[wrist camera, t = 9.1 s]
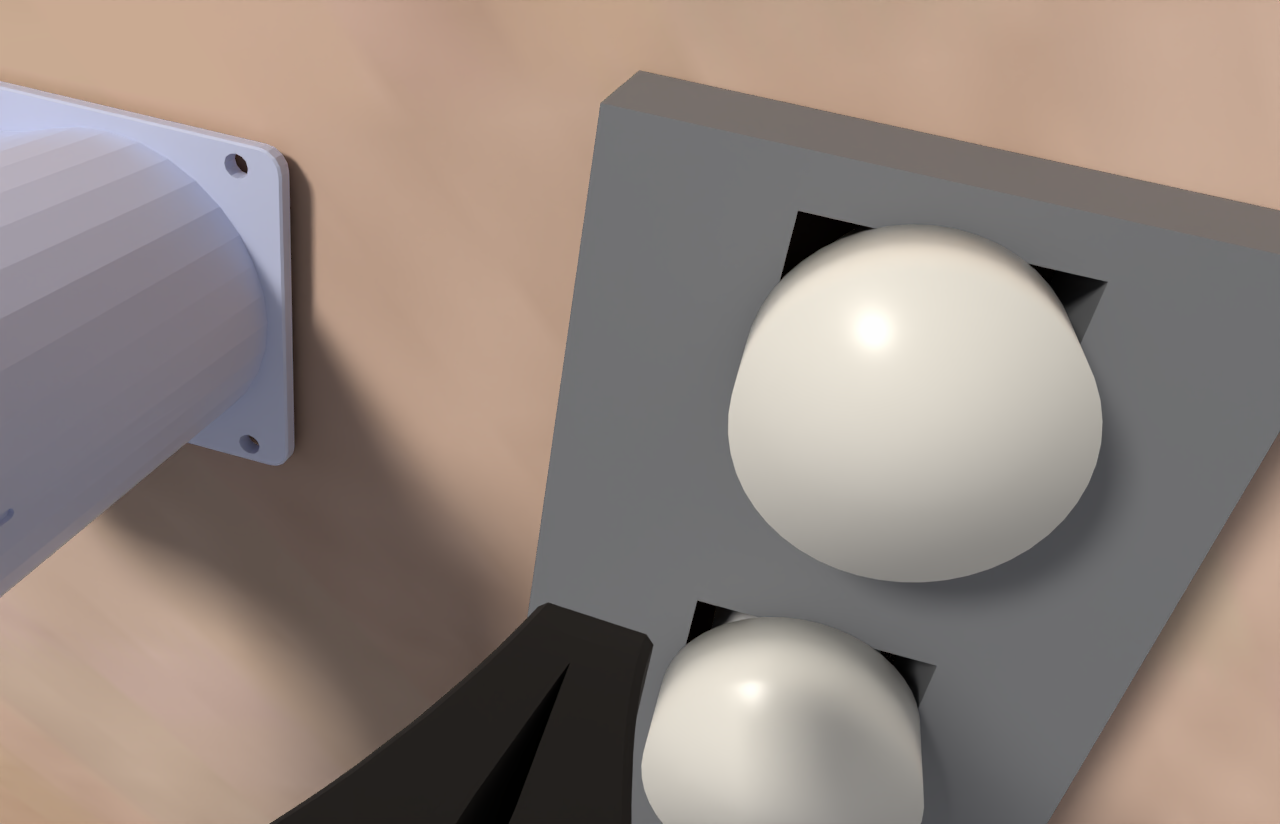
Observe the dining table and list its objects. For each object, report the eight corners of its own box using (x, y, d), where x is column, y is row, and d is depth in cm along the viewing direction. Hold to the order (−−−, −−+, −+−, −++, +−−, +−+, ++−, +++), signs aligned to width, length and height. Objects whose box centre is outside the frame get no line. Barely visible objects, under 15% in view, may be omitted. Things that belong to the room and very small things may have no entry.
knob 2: (664, 676, 26) (622, 839, 21) (707, 506, 23) (668, 653, 18) (876, 736, 25) (876, 915, 21) (948, 568, 22) (965, 737, 18)
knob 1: (734, 399, 21) (697, 532, 17) (797, 145, 18) (772, 227, 14) (991, 464, 21) (1022, 619, 16) (1098, 212, 18) (1168, 320, 14)
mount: (513, 856, 31) (480, 947, 28) (638, 70, 18) (600, 102, 16) (894, 972, 29) (895, 1078, 27) (1298, 214, 17) (1372, 275, 15)
